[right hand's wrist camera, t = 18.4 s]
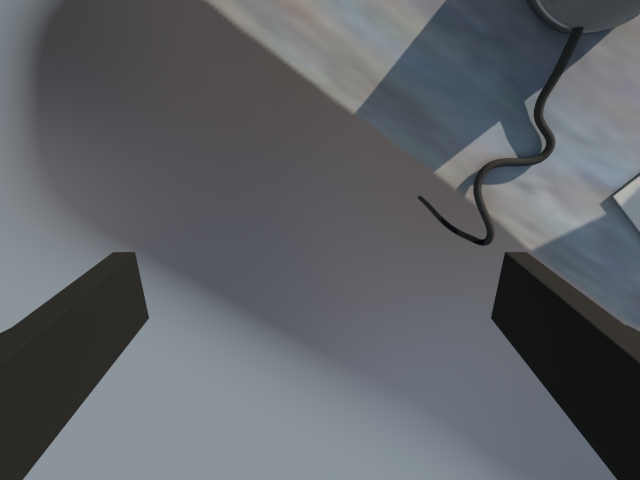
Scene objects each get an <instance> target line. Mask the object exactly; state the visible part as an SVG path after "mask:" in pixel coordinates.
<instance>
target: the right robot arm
mask: <svg viewBox="0 0 640 480" xmlns="http://www.w3.org/2000/svg"><path fill="white" fill-rule="evenodd" d="M527 1H528V3H529V5H530V6H531V8H532V10H533V11H534V12H535V14H536V15H537V16H538V17H539V18H540V19H541V20H542V21H543V22H544V23H545V24H547V25H548V26H550V27H552V28H554V29H556V30H558V31H561V32H564V33H569V34H571V35H570V37H569V39H568V42H567V44H566V46H565V48H564V50H563V52H562V54H561V56H560V58H559V60H558V63H557V65H556V67H555V69H554V71H553V73H552V75H551V76H550V78H549V80H548V81H547V83H546V84H545V86H544V88H543V89H542V91H541V93H540V95H539V97H538V99H537V101H536V104H535V109H534V119H535V122H536V125H537V127H538V128H539V130H540V131H541V133H542V134H543V136H544V137H545V139H546V147H545V149H544V150H543V151H542V153H541V154H539V155H538V156H536V157H533V158H507V159H498V160H494V161H491V162H489V163H488V164H486V165H484V166H483V168H482V169H481V170H480V171H479V172H478V174H477V176H476V178H475V182H474V197H475V201H476V204H477V207H478V209H479V212H480V214H481V216H482V218H483V221H484V223H485V226H486V229H487V236H486V238H485V239H479V238H477V237H474V236H472V235H470V234H467V233H465V232H463V231H461V230H459V229H457V228H456V227H454V226H453V225H451V224H450V223H449V222H447V221H446V220H445V219H444V218H443V217H442V216H441V215H440V214H439V213H438V212H437V211H436V210H435V209H434V208H433V207H432V206H431V205H430V204H429V203H428V202H427V201H426V200H425V199H424V198H423V197H422V196H418V199H419V200H420V201H421V202H422V203H423V204H424V205H425V206H426V207H427V208H428V209H429V210H430V211H431V213H432V214H433V215H434V216H435V217H436V218H437V219H438V220H439V221H440V222H441V223H442V224H443V225H444V226H445V227H446V228H447V229H449V230H450V231H452V232H453V233H455V234H456V235H458V236H460V237H462V238H464V239H466V240H468V241H471V242H473V243H475V244H477V245H481V246H486V245H488V244H490V243H491V242H492V240H493V238H494V235H495V231H494V226H493V223H492V220H491V218H490V216H489V213H488V211H487V209H486V206H485V204H484V201H483V198H482V193H481V185H482V181H483V179H484V177H485V175H486V174H487V173H488V172H489V171H490V170H491V169H493V168H496V167H501V166H530V165H535V164H537V163H540V162H542V161H544V160H545V159H546V158H548V156H549V155H550V154H551V153H552V151H553V149H554V147H555V138H554V135H553V133H552V132H551V130H550V128H549V127H548V126H547V124H546V122H545V120H544V118H543V109H544V105H545V102H546V100H547V98H548V96H549V94H550V92H551V91H552V89H553V88H554V86H555V85H556V83H557V81H558V80H559V78H560V76H561V75H562V73H563V71H564V69H565V67H566V65H567V63H568V61H569V59H570V56H571V54H572V52H573V50H574V48H575V46H576V44H577V42H578V40H579V38H580V36H581V34H589V33H594V32H599V31H603V30H607V29H611V28H614V27H617V26H619V25H621V24H624V23H626V22H628V21H630V20H631V19H633V18H635V17H636V16H638V15H640V0H527ZM148 319H149V316H148V311H147V307H146V302H145V297H144V293H143V288H142V283H141V279H140V274H139V269H138V264H137V260H136V255H135V252H113V253H112V254H110V255H109V256H108V257H106V258H105V259H104V260H102V261H101V262H100V263H98V264H97V265H96V266H94V267H93V268H91V269H90V270H89V271H87V272H86V273H85V274H83V275H82V276H81V277H79V278H78V279H77V280H75V281H74V282H73V283H71V284H70V285H69V286H67V287H66V288H65V289H63V290H62V291H60V292H59V293H58V294H56V295H55V296H54V297H52V298H51V299H50V300H48V301H47V302H46V303H44V304H43V305H42V306H40V307H39V308H38V309H36V310H35V311H33V312H32V313H31V314H29V315H28V316H27V317H25V318H24V319H23V320H21V321H20V322H19V323H17V324H16V325H15V326H13V327H12V328H10V329H8V330H6V331H4V332H2V333H0V480H23V479H24V477H25V476H26V475H27V474H28V472H29V471H30V470H31V468H32V467H33V466H34V465H35V463H36V462H37V461H38V459H39V458H40V457H41V456H42V454H43V453H44V452H45V450H46V449H47V448H48V447H49V445H50V444H51V443H52V442H53V440H54V439H55V438H56V436H57V435H58V434H59V433H60V431H61V430H62V429H63V427H64V426H65V425H66V424H67V422H68V421H69V420H70V418H71V417H72V416H73V415H74V413H75V412H76V411H77V410H78V408H79V407H80V406H81V404H82V403H83V402H84V400H85V399H86V398H87V397H88V395H89V394H90V393H91V392H92V390H93V389H94V388H95V386H96V385H97V384H98V383H99V381H100V380H101V379H102V378H103V376H104V375H105V374H106V372H107V371H108V370H109V369H110V367H111V366H112V365H113V363H114V362H115V361H116V360H117V358H118V357H119V356H120V354H121V353H122V352H123V351H124V349H125V348H126V347H127V346H128V344H129V343H130V342H131V340H132V339H133V338H134V337H135V335H136V334H137V333H138V331H139V330H140V329H141V328H142V326H143V325H144V324H145V322H146V321H147V320H148ZM491 319H492V320H493V321H494V322H495V324H496V325H497V326H498V328H499V329H500V330H501V331H502V333H503V334H504V335H505V337H506V338H507V339H508V340H509V342H510V343H511V344H512V346H513V347H514V348H515V349H516V351H517V352H518V353H519V355H520V356H521V357H522V358H523V360H524V361H525V362H526V363H527V365H528V366H529V367H530V369H531V370H532V371H533V372H534V374H535V375H536V376H537V378H538V379H539V380H540V381H541V383H542V384H543V385H544V386H545V388H546V389H547V390H548V392H549V393H550V394H551V395H552V397H553V398H554V399H555V401H556V402H557V403H558V404H559V406H560V407H561V408H562V410H563V411H564V412H565V413H566V415H567V416H568V417H569V419H570V420H571V421H572V422H573V424H574V425H575V426H576V427H577V429H578V430H579V431H580V433H581V434H582V435H583V436H584V438H585V439H586V440H587V442H588V443H589V444H590V445H591V447H592V448H593V449H594V451H595V452H596V453H597V454H598V456H599V457H600V458H601V459H602V461H603V462H604V463H605V465H606V466H607V467H608V468H609V470H610V471H611V472H612V474H613V475H614V476H615V477H616V479H617V480H640V332H639V331H637V330H635V329H633V328H631V327H629V326H627V325H624V324H623V323H621V322H620V321H619V320H617V319H616V318H615V317H613V316H612V315H611V314H609V313H608V312H606V311H605V310H604V309H602V308H601V307H600V306H598V305H597V304H596V303H594V302H593V301H592V300H590V299H589V298H588V297H586V296H585V295H584V294H582V293H581V292H580V291H578V290H577V289H575V288H574V287H573V286H571V285H570V284H569V283H567V282H566V281H565V280H563V279H562V278H561V277H559V276H558V275H557V274H555V273H554V272H553V271H551V270H550V269H548V268H547V267H546V266H544V265H543V264H542V263H540V262H539V261H538V260H536V259H535V258H534V257H532V256H531V255H530V254H528V253H527V252H505V255H504V260H503V264H502V269H501V274H500V278H499V283H498V288H497V293H496V297H495V302H494V307H493V311H492V316H491Z"/></svg>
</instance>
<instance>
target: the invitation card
mask: <svg viewBox="0 0 640 480" xmlns="http://www.w3.org/2000/svg"><path fill="white" fill-rule="evenodd" d="M613 198H614V199H615V200H616V202H617V203H618V204H619V206H620V207H621V208H622V210H623V211H624V212H625V214H626V215H627V216H628V218H629V219H630V220H631V222H632V223H633V224H634V226H635V227H636V228H637V230H638V231H639V232H640V175H639V176H638V177H636V178H635V179H634V180H632V181H631V182H630V183H629V184H627V185H626V186H625V187H623V188H622V189H621V190H619V191H618V192H617V193H616V194H614V195H613Z"/></svg>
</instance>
